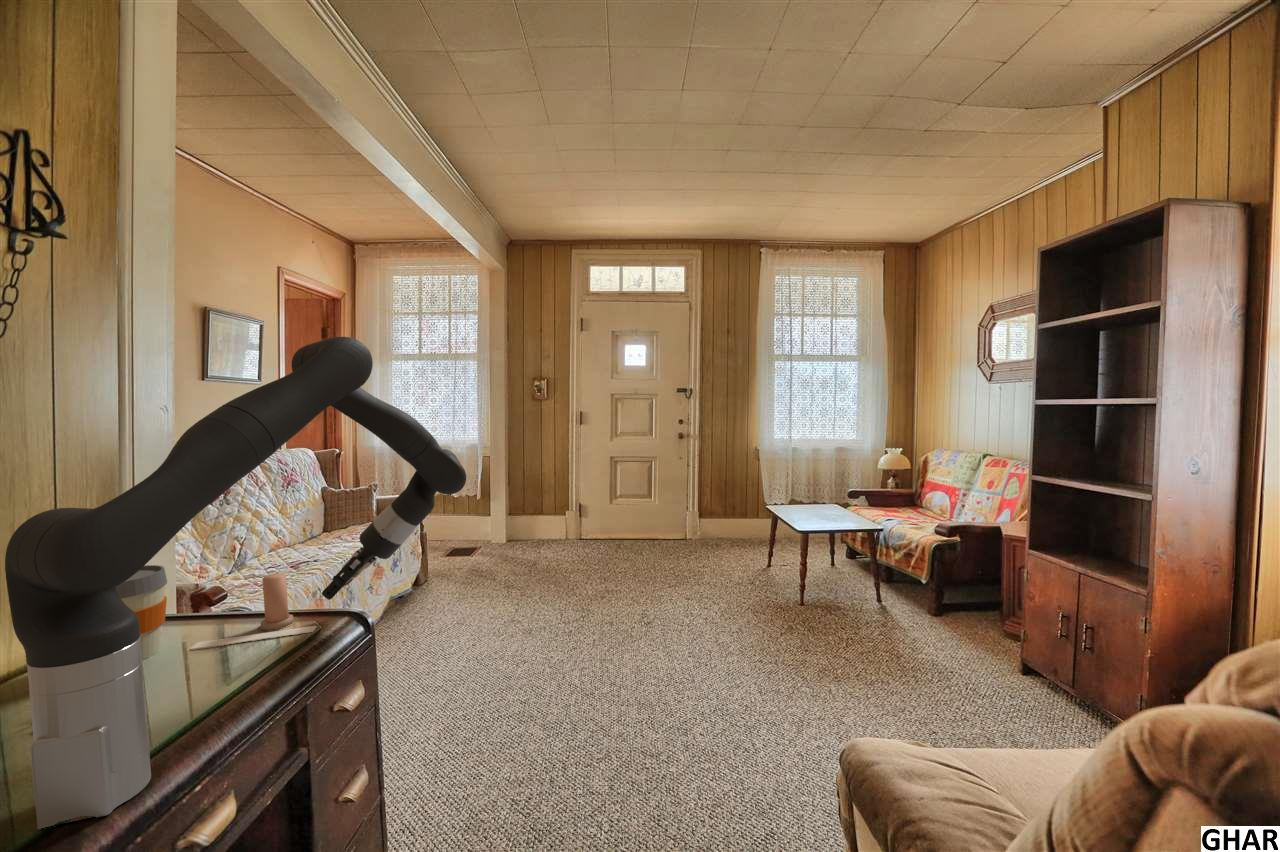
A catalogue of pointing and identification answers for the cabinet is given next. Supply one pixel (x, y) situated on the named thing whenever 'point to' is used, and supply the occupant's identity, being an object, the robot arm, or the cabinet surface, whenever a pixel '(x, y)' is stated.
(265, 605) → the pin
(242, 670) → the cabinet surface
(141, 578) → the reusable coffee cup
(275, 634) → the strip
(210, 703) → the cabinet surface
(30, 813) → the cabinet surface
